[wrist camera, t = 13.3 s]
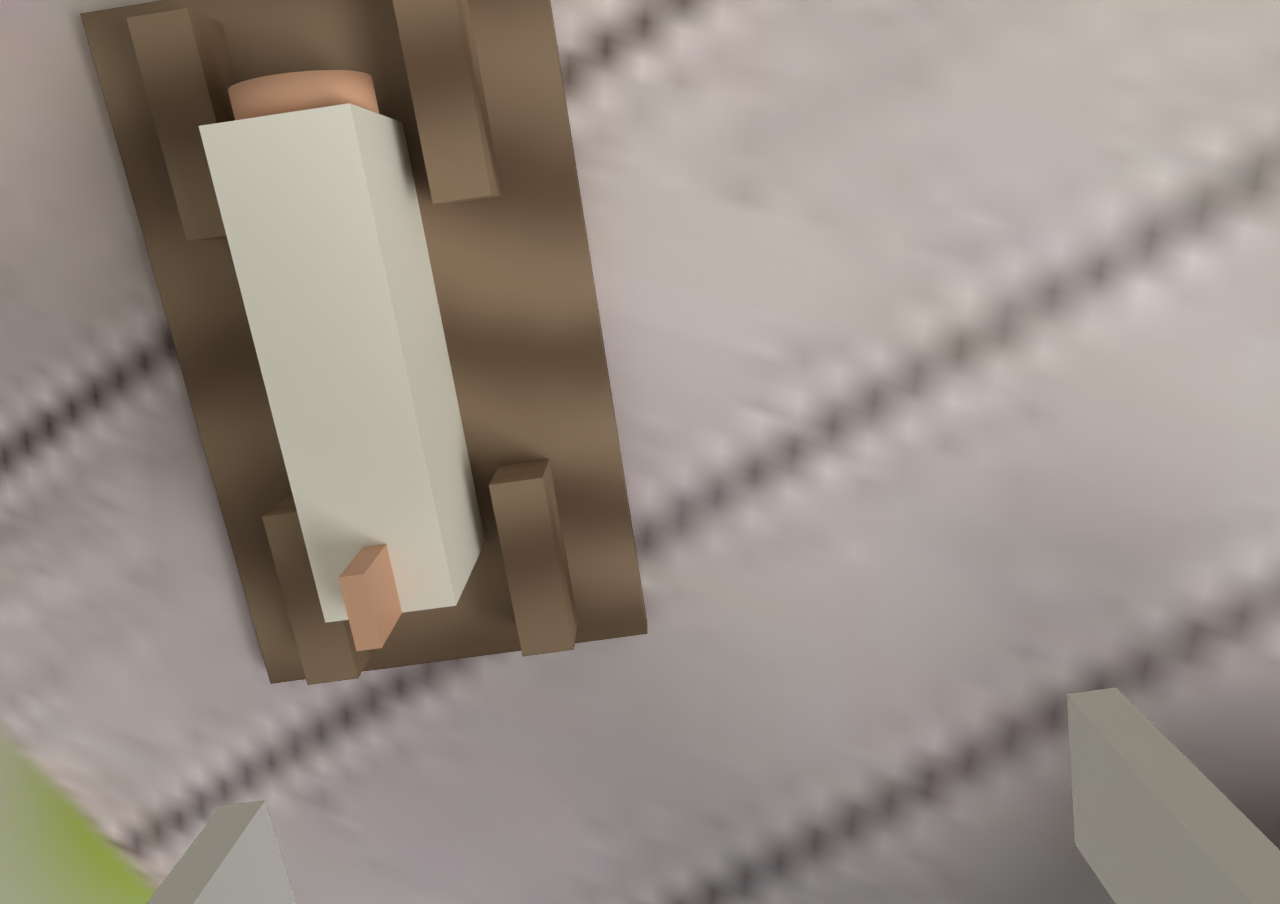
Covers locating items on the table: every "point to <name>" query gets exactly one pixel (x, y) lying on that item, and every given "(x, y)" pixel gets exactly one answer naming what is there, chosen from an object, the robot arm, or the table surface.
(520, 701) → the table surface
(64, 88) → the table surface
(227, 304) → the cradle
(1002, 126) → the table surface
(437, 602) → the block
